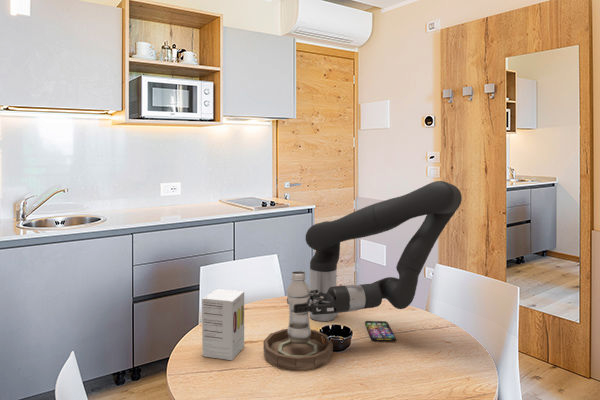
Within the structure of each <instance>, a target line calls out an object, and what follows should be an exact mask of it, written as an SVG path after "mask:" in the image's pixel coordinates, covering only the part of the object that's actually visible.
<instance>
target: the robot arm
mask: <svg viewBox="0 0 600 400" xmlns="http://www.w3.org/2000/svg"><path fill="white" fill-rule="evenodd" d="M462 198H463V197H462V193H461V191H460V189H459V188H458V187H457V186H456V185H454V184H452V183H449V182H447V181H443V180H436V181H432V182H430V183H428V184H426V185H423V186H421V187H419V188H417V189H415V190H412V191H411V192H409V193H406V194H404V195H400V196H397V197H396V196H395V197H393V198H388V199H386V200H382V201H379V202H375V203H372V204H370V205H367V206H365V207H362V208H359V209H357V210H355V211H353V212H350V213H348V214H346V215H344V216H342V217H340V218H338V219H334V220H331V221H330V220H329V221H327V220H326V221H322V222H318V223H314V224H313V225H312V226H310V227H309V228H308V229H307V231H306V233H305V242H306V245H308V247H309V248H310V249H312V250H315V252H314V254H313V256H312V258H311V259H310V260H309V261H310V262H309V289H310V299H309V303H308V305H307V303H303V304H295V305H294V312H295V313H301V312H307V311H308V314H309V319H311V320H314V321H318V322H329V321H333V320H335V319H336V317H338V315H339V314H340V313H341V314H342V313H348V312H350V313H351V312H357V311H359V310H366V309H374V308H378V307H379V306H380V305H381V304H382V302H383V299H386V300H387V301H388V302H389V304H391V305H392V307H394V308H395V309H398V310H405V309H406V308H408V307H409V306H410V305H411V304H412V303H413V301H414V299H415V296H416V292H417V286H418V282H419V276H420V274H421V271H422V270H423V268H424V266H425V264H426V261H427V260H428V257H429V255H430V254H431V252H432V250H433V248H434V246H435V244H436V243H437V240H438V239H439V237H440V236H441V234H442V232H443V231H444V229H445V227H446V226H447V224H448V223H449V221H450V220H451V219H452V217H453V216H454V215H455V213H456V212H457V211H458V210H459V207H460V206H461V204H462V201H463V199H462ZM422 216H425V217H424V220H423V222H422V224H420V226H419V227H418V229H417V231H416V232H415V233H414V235H412V237H411V238H410V239H409V241H408V242H407V244H406V246H405V247H404V249H403V251H402V253H401V255H400V257H399V259H398V261H397V264H396V267H395V268H396V271H397V273H398V277H394V276H393V277H392V276H388V277H384V278H381V279H379V280H377V281H374V282H370V283H364V284H346V285H345V284H344V285H338V286H337V277H338V276H337V275H338V274H337V273H338V271H337V270H338V262H339V260H340V251H341V243H342V242H346V241H349V240H350V241H351V240H357V239H362V238H366V237H370V236H375V235H378V234H381V233H384V232H385V233H386V232H388V231H390V230H393V229H395V228H397V227H399V226H400V225H403V224H404V223H405V222H407V221H409V220H411V219H414V218H417V217H422ZM286 297H287V296H286ZM286 303H287V305H288V306H289V303H288V297H287V298H286Z"/></svg>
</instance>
